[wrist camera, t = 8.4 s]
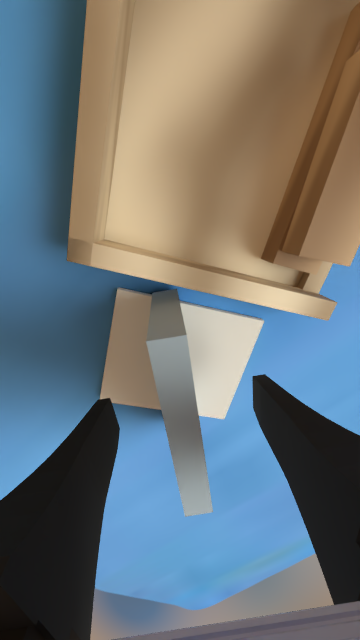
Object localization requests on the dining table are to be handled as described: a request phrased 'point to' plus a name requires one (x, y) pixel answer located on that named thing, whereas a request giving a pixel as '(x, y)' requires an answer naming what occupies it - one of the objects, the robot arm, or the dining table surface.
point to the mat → (204, 348)
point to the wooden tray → (198, 140)
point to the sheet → (178, 399)
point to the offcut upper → (333, 182)
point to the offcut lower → (310, 154)
